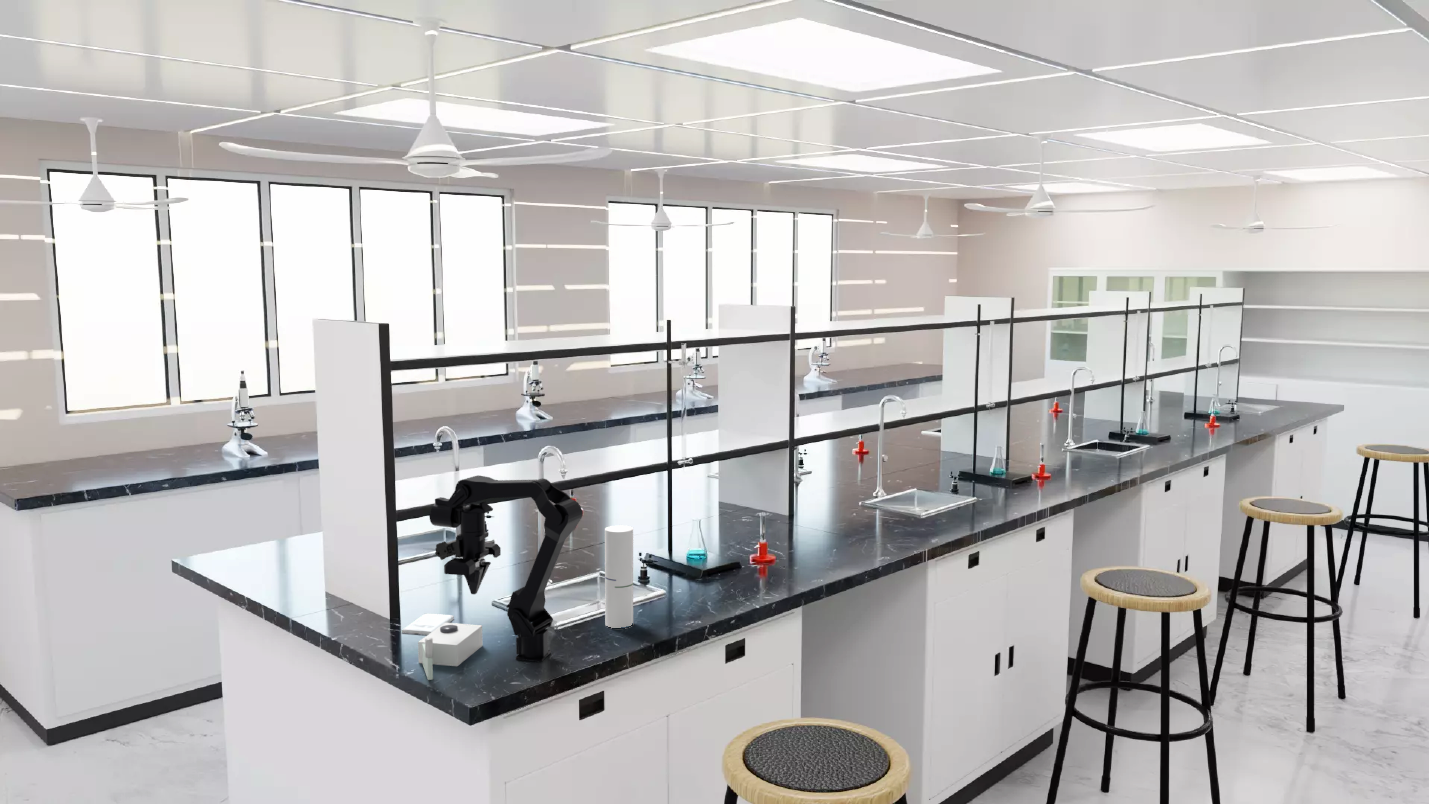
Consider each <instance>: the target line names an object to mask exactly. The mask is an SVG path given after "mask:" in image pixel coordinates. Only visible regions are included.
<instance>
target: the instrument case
mask: <svg viewBox="0 0 1429 804" xmlns="http://www.w3.org/2000/svg"><path fill="white" fill-rule="evenodd" d="M426 638H433V657H432V665H436V666H437V665H438V666H448V667H450V666H451V667H458V666H460V665H461V664H462V663H464V661H466V660H467V659H468V658H470V657H471V656H472V655H473V654H474V653H476V652H477V651H478V650H479V649H480V648H482V647H483V645H484V644H483V642H484V641H483V625H480V624H469V623H468V624H467V623H456V622H449V623H444V624H443V625H441V626H440V627H438V628H437V629H436V630H434V631H433V632H431V633H430V634H429V635H425V636H424V637H423V638H421V639H420V640H419V641H417V652H418V664H423V663H422V644H424V643H425V639H426Z"/></svg>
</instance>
